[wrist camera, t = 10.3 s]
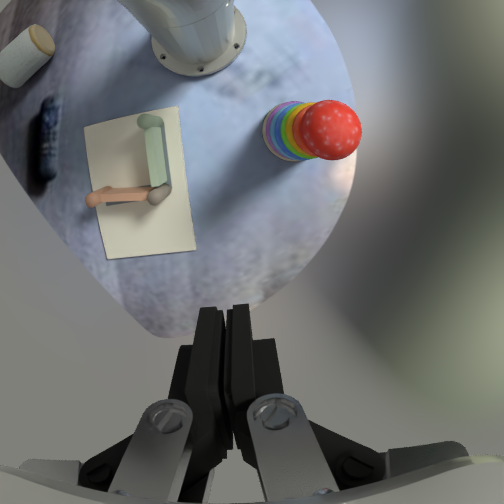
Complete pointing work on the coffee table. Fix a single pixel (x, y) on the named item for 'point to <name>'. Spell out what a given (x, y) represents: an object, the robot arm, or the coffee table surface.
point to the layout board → (137, 175)
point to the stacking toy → (312, 130)
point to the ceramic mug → (25, 55)
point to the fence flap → (129, 195)
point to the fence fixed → (154, 147)
